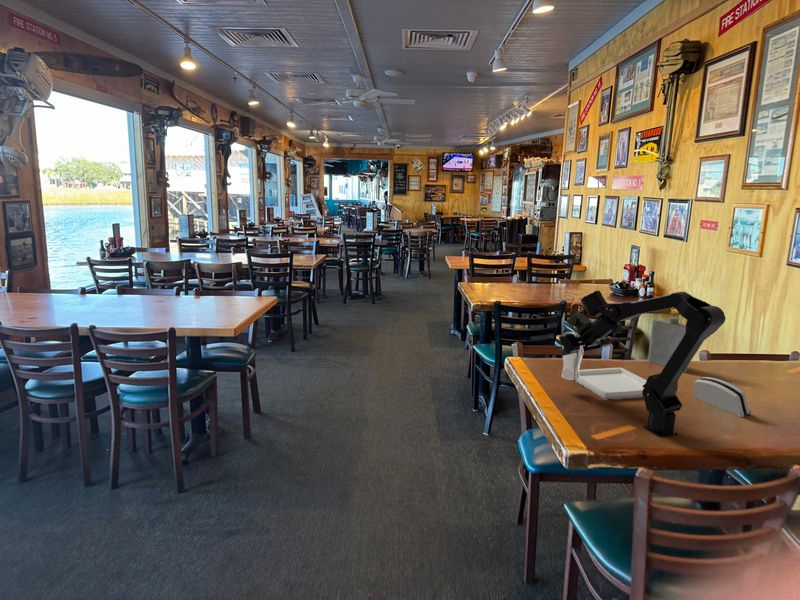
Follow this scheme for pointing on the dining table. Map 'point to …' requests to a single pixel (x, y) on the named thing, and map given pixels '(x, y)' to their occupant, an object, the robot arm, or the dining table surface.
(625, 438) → the dining table surface
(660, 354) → the hip flask
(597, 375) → the serving tray
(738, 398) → the grey half-round block
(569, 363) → the beer glass
